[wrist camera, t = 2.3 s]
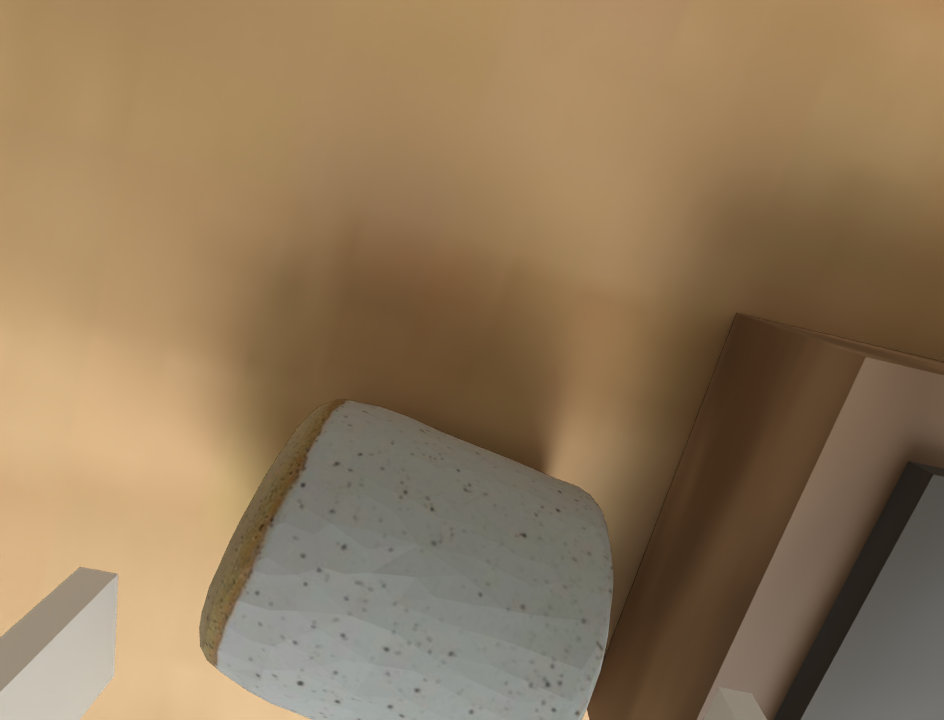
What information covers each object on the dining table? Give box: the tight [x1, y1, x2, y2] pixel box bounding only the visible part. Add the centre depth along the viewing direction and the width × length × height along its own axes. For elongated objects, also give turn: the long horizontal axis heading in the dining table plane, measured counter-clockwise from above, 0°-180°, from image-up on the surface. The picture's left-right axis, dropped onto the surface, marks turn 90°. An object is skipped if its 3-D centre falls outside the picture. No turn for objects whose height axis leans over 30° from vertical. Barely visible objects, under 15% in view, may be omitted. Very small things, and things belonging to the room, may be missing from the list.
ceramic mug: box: [199, 399, 614, 720], centre depth 13 cm, size 11×8×8 cm
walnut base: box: [587, 313, 944, 720], centre depth 15 cm, size 16×16×6 cm
